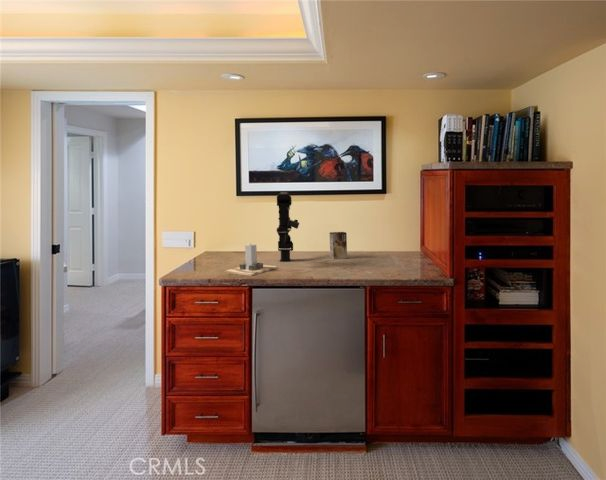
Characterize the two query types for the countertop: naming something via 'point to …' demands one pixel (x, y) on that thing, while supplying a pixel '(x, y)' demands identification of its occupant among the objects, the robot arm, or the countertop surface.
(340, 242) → the coffee box
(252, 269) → the board
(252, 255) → the block
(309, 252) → the countertop surface
